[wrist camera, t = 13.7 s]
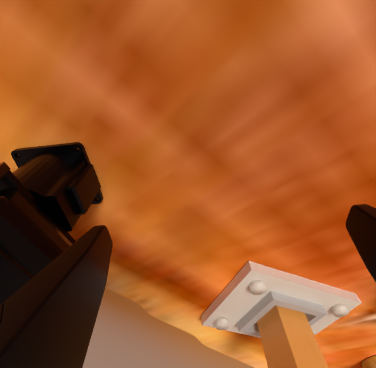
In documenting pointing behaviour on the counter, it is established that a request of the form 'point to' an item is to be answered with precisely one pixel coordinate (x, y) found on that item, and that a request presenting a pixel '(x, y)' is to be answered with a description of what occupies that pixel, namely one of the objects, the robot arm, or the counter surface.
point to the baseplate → (275, 300)
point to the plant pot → (369, 362)
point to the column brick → (289, 340)
